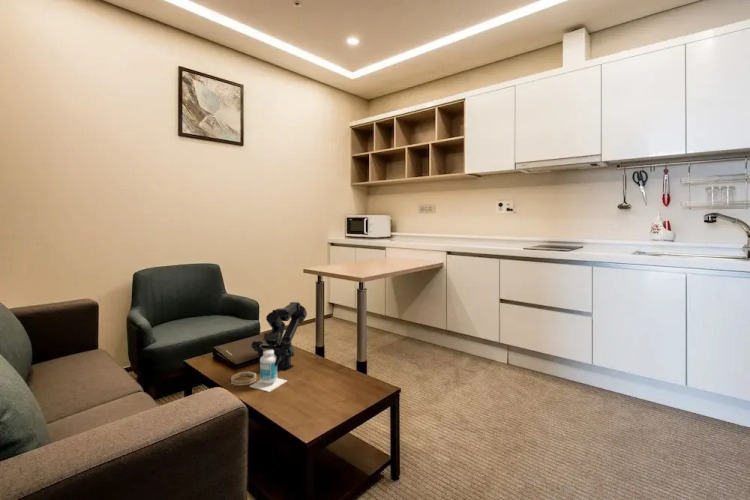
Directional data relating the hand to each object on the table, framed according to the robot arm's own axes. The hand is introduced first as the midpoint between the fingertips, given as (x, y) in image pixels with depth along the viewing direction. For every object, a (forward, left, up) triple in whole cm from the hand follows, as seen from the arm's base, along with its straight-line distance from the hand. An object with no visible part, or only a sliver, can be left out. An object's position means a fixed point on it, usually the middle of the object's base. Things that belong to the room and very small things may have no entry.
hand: (267, 365), depth 165 cm
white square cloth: (-1, 0, -9) cm, 9 cm away
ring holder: (+1, -13, -9) cm, 16 cm away
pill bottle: (-1, -1, -8) cm, 8 cm away
